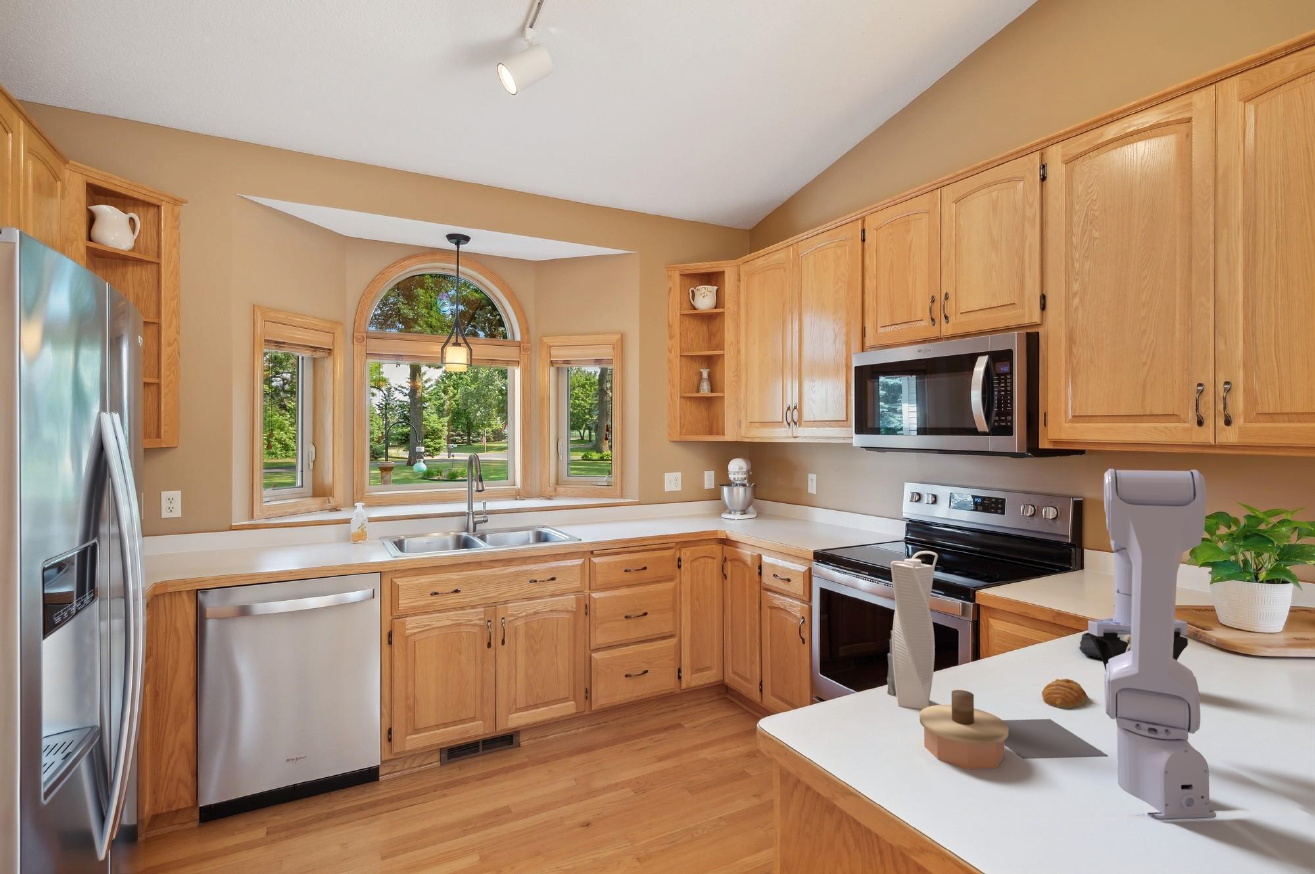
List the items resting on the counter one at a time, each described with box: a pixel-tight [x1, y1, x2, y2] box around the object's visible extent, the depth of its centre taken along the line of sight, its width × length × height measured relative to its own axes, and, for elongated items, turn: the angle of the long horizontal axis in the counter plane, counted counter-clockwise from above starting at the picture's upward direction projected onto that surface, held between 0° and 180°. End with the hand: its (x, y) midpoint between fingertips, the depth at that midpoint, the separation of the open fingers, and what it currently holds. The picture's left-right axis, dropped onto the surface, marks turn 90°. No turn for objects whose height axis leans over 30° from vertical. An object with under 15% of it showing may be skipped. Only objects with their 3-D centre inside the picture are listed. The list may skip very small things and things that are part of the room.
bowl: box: [923, 727, 1005, 770], centre depth 97 cm, size 10×10×4 cm
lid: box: [919, 689, 1009, 744], centre depth 97 cm, size 12×12×5 cm
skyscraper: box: [886, 550, 939, 710], centre depth 116 cm, size 8×8×28 cm
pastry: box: [1041, 678, 1090, 710], centre depth 117 cm, size 9×7×4 cm
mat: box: [1002, 718, 1109, 760], centre depth 101 cm, size 13×13×1 cm
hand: (1138, 681), depth 100 cm, fingers open, 7 cm apart
